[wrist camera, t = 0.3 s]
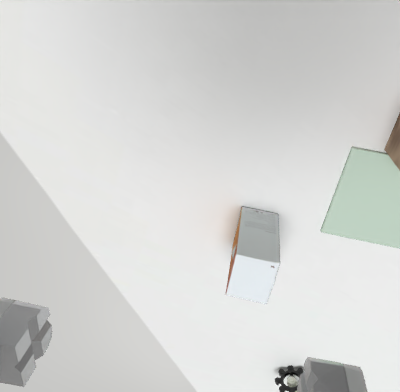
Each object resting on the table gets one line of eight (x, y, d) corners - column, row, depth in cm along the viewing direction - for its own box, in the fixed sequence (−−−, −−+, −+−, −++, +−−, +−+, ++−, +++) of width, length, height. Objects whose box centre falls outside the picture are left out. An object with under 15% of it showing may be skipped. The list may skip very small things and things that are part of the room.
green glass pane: (351, 146, 55) (352, 148, 55) (457, 167, 54) (458, 168, 54) (320, 230, 63) (321, 232, 62) (412, 249, 62) (413, 251, 61)
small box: (241, 205, 63) (235, 253, 51) (279, 213, 62) (281, 263, 51) (232, 244, 67) (224, 296, 55) (267, 251, 66) (267, 305, 55)
